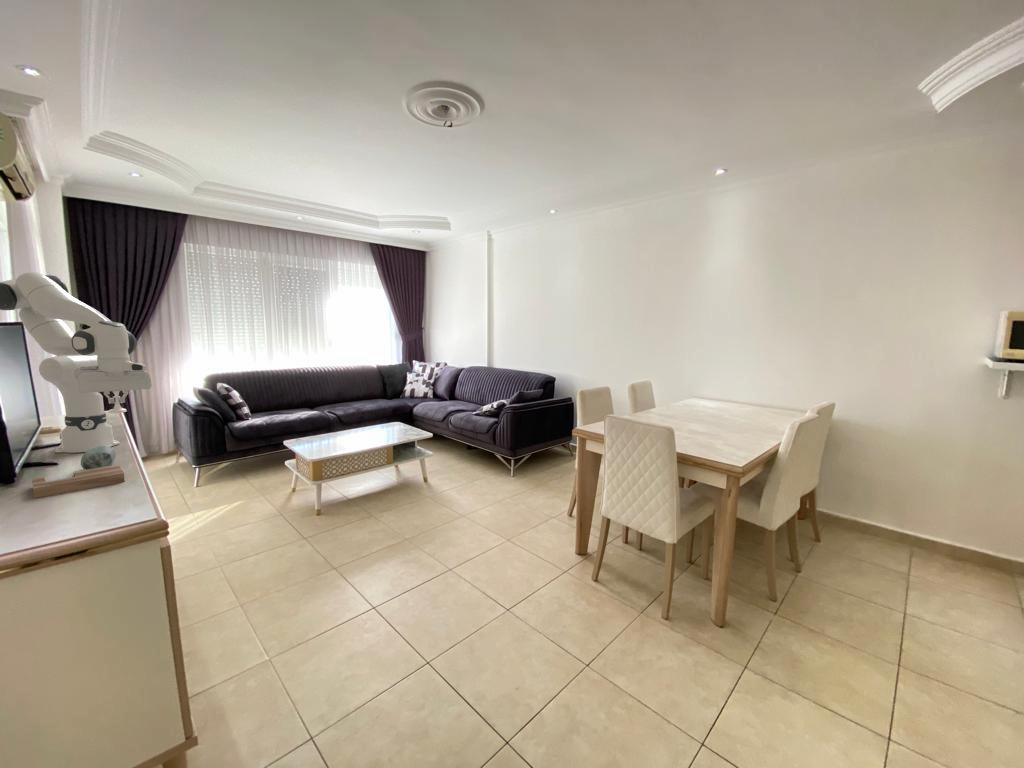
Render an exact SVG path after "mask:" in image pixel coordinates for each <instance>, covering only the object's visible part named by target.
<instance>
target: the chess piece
mask: <svg viewBox="0 0 1024 768" xmlns="http://www.w3.org/2000/svg"><path fill="white" fill-rule="evenodd" d="M120 392H121V391H112V393H113V394H114V395H113V396H112V398H114V402H115V403H114V406H113V408H112V409H108V413H109V414H118V413H119V414H121V413H126V412H127V408H123V407H122V406H121V403H119V398H121V396H120Z"/></svg>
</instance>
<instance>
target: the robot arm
mask: <svg viewBox="0 0 1024 768" xmlns="http://www.w3.org/2000/svg"><path fill="white" fill-rule="evenodd" d="M0 310H1V311H15V310H19V311H18V316H19V318H20V320H21V322H22V324H23V326H24V328H25V329H26V330H27V332H28V333H29V334H30V335H31V337H32V338H33V339H34V341H35V342H36V343H37V344H38V345H39V346H40V348H41V349H42V350H43V351H45V352H47V353H48V354H50V355H54V356H51V357H47V358H45V359H42V361H41V362H40V364H39V366H38V372H39V375H40V376H41V378H43V380H45V381H46V382H48V383H50V384H52V385H54V386H55V388H57V389H58V391H59V392H60V394H61V396H62V398H63V403H64V410H65V416H64V423H65V427H64V428H63V429H62V430H61V432H60V433H59V440H60V445H59V446H58V447H56V449H55V451H54V453H72V454H73V453H85V452H86V451H87V450H88V449H90V448H92V447H95V446H108V447H110V448H112V447H113V446H117V445H120V443H121V442H120V441H119V440H116V439H114V433H113V427H112V425H110V424H109V423H107V414H106V412H105V406H104V396H105V397H106V398H107V400H108V404H109V405H110V404H115V398H113V397H111V396H110V392H113V391H120V392H122V393H123V394H122V396H120V398H119V403H120V404H123V403H126V398H127V396H128V395H129V391H139V390H150V389H151V388H152V386H153V385H152V379H151V375H150V373H149V372H148V371H147V365H146V364H144V363H140V362H136V361H131V358H130V357H131V356H130V354H132V352H134V351H135V349H136V347H137V345H138V343H137V338H136V337H135V336H134V334H133V333H132V332H130V331H129V330H127V327H126V326H125V324H123V323H121V322H117V321H112V320H111V319H109V318H108V317H106V315H104V314H103V313H101V312H100V311H99V310H97V309H95V308H94V307H93V306H90V305H89V304H86V303H84V302H83V301H81V300H79V299H78V298H76V297H75V296H72V295H71V294H70V293H69V289H68V286H67V285H66V283H65V281H63V279H61V278H60V277H59V276H57V275H51V274H43V273H40V272H36V271H35V272H34V271H33V272H32V271H31V272H30V271H29V272H24V273H22V274H20V275H19V276H18V277H16V278H14V279H8V280H4V281H0ZM66 321H68V322H73V323H78V324H82V325H86V326H89V328H86V329H82V330H81V329H80V330H77V331H76V332H74V331H73V329H72V328H70V326H69V325H68V324H67V323H66ZM101 393H103V395H104V396H103V395H102V394H101Z"/></svg>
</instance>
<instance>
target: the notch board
mask: <svg viewBox="0 0 1024 768" xmlns="http://www.w3.org/2000/svg"><path fill="white" fill-rule="evenodd" d="M45 480H46V479H45V476H38V477H32V478H31V481H32V494H33V499H36V498H42V497H48V496H54V495H59V494H65V493H70V492H75V491H80V490H86V489H91V488H92V489H93V488H97V487H102V486H107V485H114V484H119V483H123V482H125V472H124V470H123V469H122V468H121V466H120V465H119V464H112V466H106V467H100V468H94V469H88V470H85V469H82V470H77V471H73V477H68V478H62V479H55V480H49V481H45Z"/></svg>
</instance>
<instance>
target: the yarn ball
mask: <svg viewBox="0 0 1024 768" xmlns="http://www.w3.org/2000/svg"><path fill="white" fill-rule="evenodd" d="M116 454H117V453H116V451H115V449H114V448H113V447H108V446H95V447H92V448H90V449H88V450H87V451H86V452H83V455H82V457H81V459H80V467H81V468H82V470H88V469H94V468H100V467H106V466H113V465H114V461H115V458H116Z"/></svg>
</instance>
